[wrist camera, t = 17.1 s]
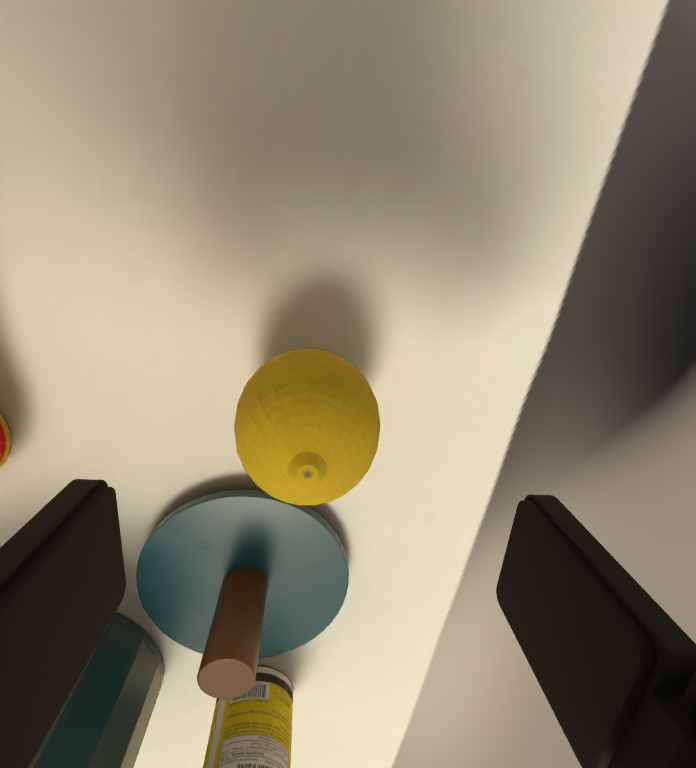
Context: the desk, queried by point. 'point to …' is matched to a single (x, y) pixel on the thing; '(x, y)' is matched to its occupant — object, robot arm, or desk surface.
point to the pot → (107, 703)
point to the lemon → (307, 427)
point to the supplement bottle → (253, 726)
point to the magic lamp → (4, 440)
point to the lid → (241, 582)
